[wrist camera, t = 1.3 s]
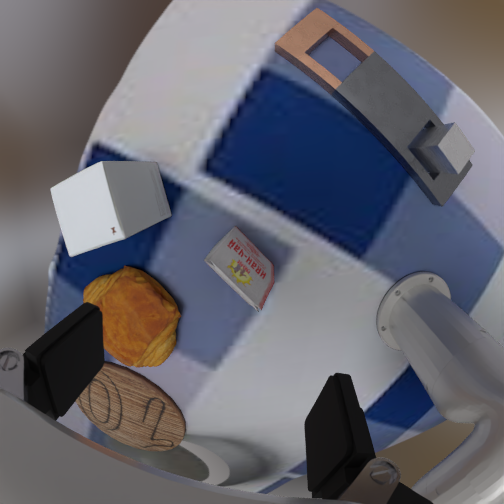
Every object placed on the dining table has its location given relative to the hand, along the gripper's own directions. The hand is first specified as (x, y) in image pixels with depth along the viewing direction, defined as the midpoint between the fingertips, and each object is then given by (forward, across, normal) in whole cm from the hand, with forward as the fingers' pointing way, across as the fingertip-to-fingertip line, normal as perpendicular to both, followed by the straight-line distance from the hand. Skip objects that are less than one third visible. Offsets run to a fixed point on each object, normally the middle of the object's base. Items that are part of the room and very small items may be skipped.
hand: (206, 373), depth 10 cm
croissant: (+26, +14, +15) cm, 33 cm away
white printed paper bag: (+26, +1, +3) cm, 26 cm away
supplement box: (+25, +16, -1) cm, 30 cm away
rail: (+26, -11, -20) cm, 34 cm away
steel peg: (+26, -18, -17) cm, 36 cm away
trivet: (+26, +16, +40) cm, 50 cm away
